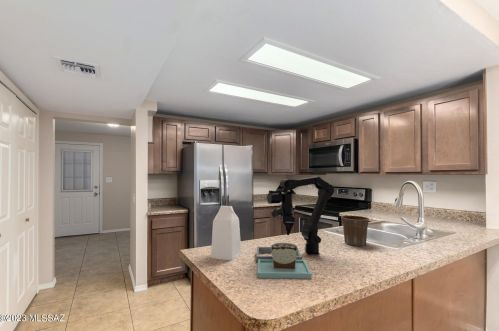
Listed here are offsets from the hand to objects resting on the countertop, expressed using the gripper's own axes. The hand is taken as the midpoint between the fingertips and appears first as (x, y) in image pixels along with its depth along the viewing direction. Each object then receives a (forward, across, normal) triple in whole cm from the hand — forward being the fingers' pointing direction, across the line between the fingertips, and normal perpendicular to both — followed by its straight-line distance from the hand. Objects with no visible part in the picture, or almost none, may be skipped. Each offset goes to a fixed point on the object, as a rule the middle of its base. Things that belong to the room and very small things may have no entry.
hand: (287, 233), depth 133 cm
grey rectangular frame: (+12, +2, -5) cm, 13 cm away
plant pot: (+12, -26, +44) cm, 53 cm away
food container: (+11, +18, -3) cm, 22 cm away
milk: (+12, 0, -32) cm, 34 cm away
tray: (+12, +20, -4) cm, 24 cm away
